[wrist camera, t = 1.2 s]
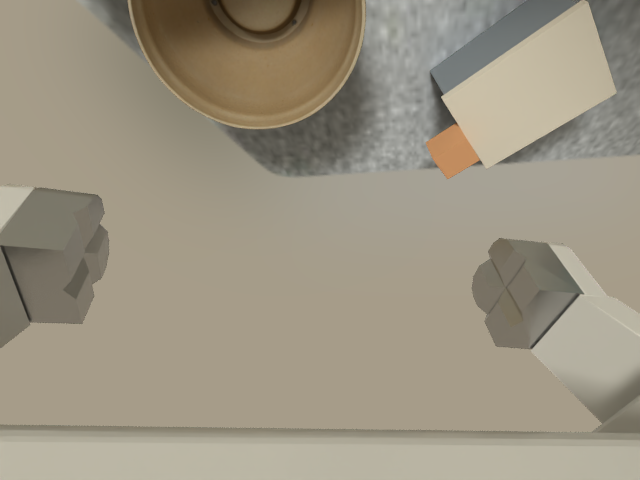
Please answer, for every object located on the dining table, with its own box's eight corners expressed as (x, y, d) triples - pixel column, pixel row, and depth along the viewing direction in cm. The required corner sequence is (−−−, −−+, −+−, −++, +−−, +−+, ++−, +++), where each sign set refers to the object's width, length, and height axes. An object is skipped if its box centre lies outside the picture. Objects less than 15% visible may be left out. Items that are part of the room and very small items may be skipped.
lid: (576, -5, 34) (603, 10, 32) (606, 84, 40) (631, 104, 37) (406, 114, 41) (415, 135, 38) (451, 176, 46) (462, 199, 43)
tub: (547, -14, 38) (580, 4, 34) (576, 63, 43) (607, 88, 39) (429, 71, 43) (445, 97, 39) (467, 132, 48) (485, 161, 44)
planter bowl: (370, -115, 33) (395, -99, 25) (331, 86, 44) (340, 141, 36) (153, -163, 31) (105, -163, 23) (169, 62, 41) (140, 115, 34)
